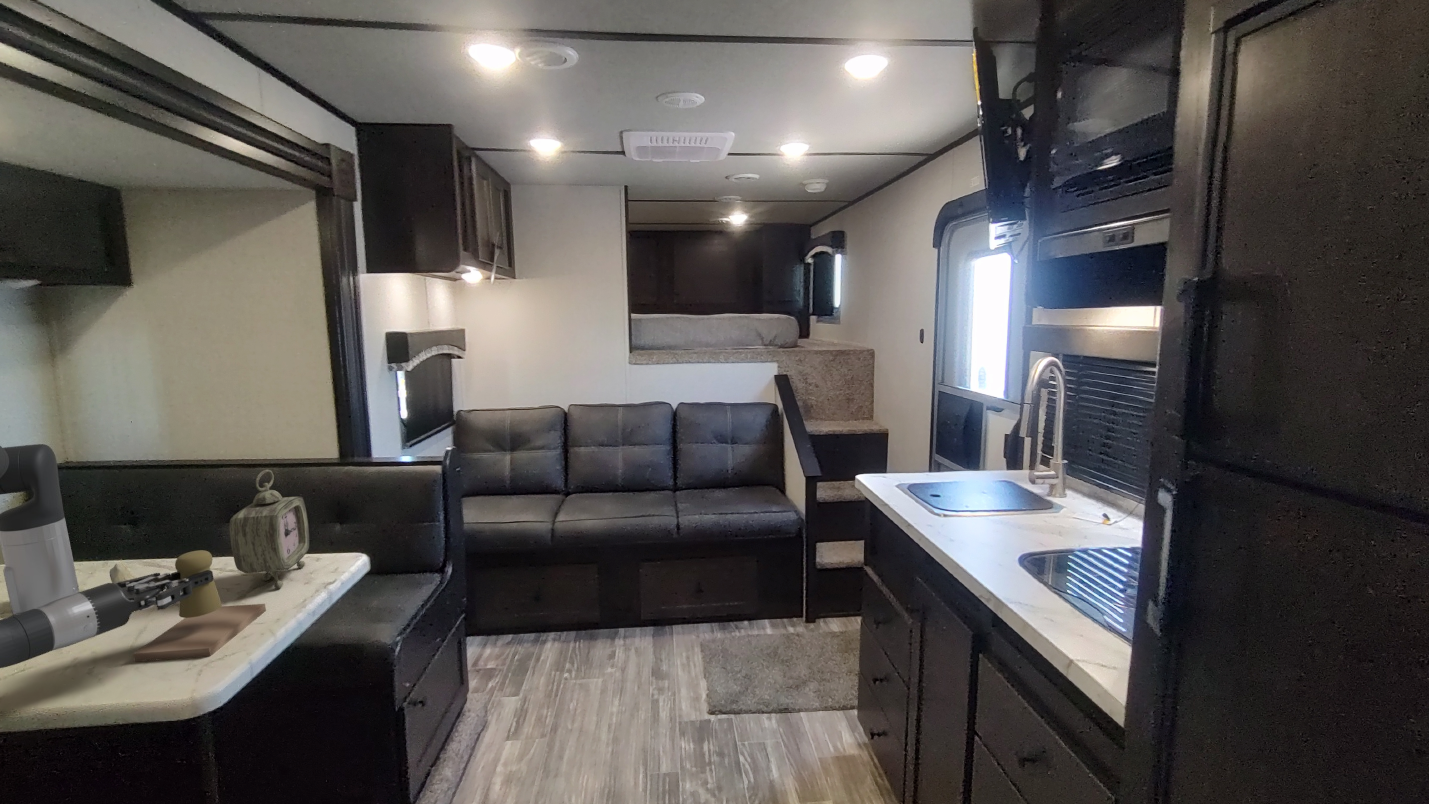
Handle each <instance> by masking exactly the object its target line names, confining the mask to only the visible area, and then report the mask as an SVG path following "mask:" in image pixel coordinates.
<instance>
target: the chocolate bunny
mask: <svg viewBox="0 0 1429 804" xmlns="http://www.w3.org/2000/svg"><path fill="white" fill-rule="evenodd" d="M109 578H110V581H111V583H114V584H116V583H118V582H122V581H126V580H130V579H134V578H138V577H137V576H135V575H133V574H132V573H131V571H130V570H129V569H128V568H127V566H126V565H125V564H124V563H121V562H116V563H115V564H114V566H113V567H112V568H110V569H109Z"/></svg>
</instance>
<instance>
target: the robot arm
mask: <svg viewBox="0 0 1429 804" xmlns="http://www.w3.org/2000/svg"><path fill="white" fill-rule="evenodd" d="M31 491H33V497H32V498H31V499H30V500H28V501H26V502H24V503H23V504H20V505H17V506H14V507H11V508H9V509H7V510H5V511H2V512H1V513H0V547H1V552H2V556H3V557H2V558H3V560H4V561H3V562H4V568H3V570H2V571H3V576H4V582H5V586H6V591H7V596H8V600H9V604H10V609H11V614H12V615H10V616H7V617H5V618H1V619H0V669H4V668H8V667H12V666H15V665H18V664H21V663H24V662H26V661H29V660H31V659H35V658H37V657H39V656H42V655H45V654H47V653H48V654H49V652H52V651H56V650H59V649H63V648H67V647H71V646H72V645H73V646H74V645H76V644H78V643H80V642H83V641H86V640H89V639H91V638H95V637H97V636H99V635H102V634H105V633H108V632H111V631H112V630H115V629H117V628H121V627H123V626H125V625H126V624H128V622H129V620H130V618H131V615H132V614H133V613H135V612H138V611H144V610H148V609H151V608H153V607H154V606H156V610H157V611H163V610H165V609H167V608H169V607H172V606H173V605H175V604H177V603H180V601H181V600H183V599H185V598H187V597H189V596H191V595H192V589H193V588H196V587H199V586H202V585H204V584H207V583H210V582H212V581H213V579H214V573H213V571H212V570H211V569H210V570H211V571H210V570H206V571H203V572H200V573H197V574H195V575H192V576H189V577H186V578H182V579H180V578H181V573H179V572H178V571H177V570H176V571H174V572H172V573H170V572H165V573H162V574H161V572H155V573H151V574H147V575H143V576H140V577H137V578H134V579H130V580H126V581H122V582H118V583H116V584H114V583H112V582H107V583H103V584H100V585H97V586H94V587H91V588H88V589H86V590H82V591H80V588H79V583H78V577H77V574H76V568H75V562H74V558H73V552H72V549H71V548H72V547H71V543H70V538H69V533H68V528H67V523H66V518H65V512H64V507H63V499H62V498H63V497H62V493H61V488H60V478H59V468H58V462H57V458H56V454H55V452H54V450H53V449H52V448H51V446H49V445H47V444H44V443H38V444H37V443H36V444H26V445H18V446H16V445H15V446H6V447H3V446H2V445H0V495H9V494H17V493H24V492H31ZM180 589H181V590H180ZM134 611H135V612H134Z"/></svg>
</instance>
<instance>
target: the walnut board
mask: <svg viewBox="0 0 1429 804" xmlns="http://www.w3.org/2000/svg"><path fill="white" fill-rule="evenodd" d="M266 611H267V609H266V603H254V604H252V603H251V604H242V605H241V604H240V605H239V604H238V605H237V604H236V605H223V606H222V605H221V607H220V608H219V609H217V610H215V611H213V612H211V613H208V614H205V615H202V616H198V617H191V618H182V619H181V620H179V621H178V622H177V623H176V624H175V625H173V626H172V627H169V629H167V630H166V631H165V632H162V633H161V634H159V636H157V637H156V638H154V639H152V640H151V641H150V642H148V643H147V644H146V645H144V646H142V647H141V648H140V649H138V650H136V651H135V652H134V653H133V658H134V662H144V661H143V660H149V661H157V660H156V659H163V660H174V659H173V658H177V659H189V657H190V658H203V657H204V658H205V657H211V656H213V654H215V653H216V652H218V650H220V649H221V648H223V646H225V645H226V644H227V643H229V642H230V641H231V640H232V639H233V638H234V637H236V636H237V635H238V634H239V633H241V632H242V631H243V630H244V629H246V626H247V625H248V626H249V625H251V624H252V623H253V622H254V621H256V620H257V619H258V618H259V617H260V616H262V615H263V614H264V613H265V612H266ZM257 617H258V618H257ZM252 621H253V622H252ZM251 622H252V623H251ZM248 626H247V627H248Z"/></svg>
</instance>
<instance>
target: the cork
mask: <svg viewBox="0 0 1429 804" xmlns="http://www.w3.org/2000/svg"><path fill="white" fill-rule="evenodd" d="M213 560H214V559H213V556H212V553H211V552H210V551H207V550H201V549H200V550H199V549H198V550H193V551H189V552H186V553H183V554H181V555H179V556H178V557H177V558H176V560H175V564H174V566H175V570H176V572H177V571H178V572H179V573H181V578H180V579H182V578H186V577H189V576H192V575H195V574H197V573H200V572H203V571H206V570H210V571H212V570H211V566H212V564H213ZM180 590H181V589H180ZM221 606H222V601H221V598H220V595H219V592H218V589H217V585H216V582H215V579H214V578H213V581H212V582H210V583H207V584H204V585H202V586H199V587H196V588H193V589H192V595H191V596H189V597H187V598H185V599H183V600H181V601H179V614H178V616H179V617H180V618H182V619H184V618H191V617H198V616H202V615H205V614H208V613H211V612H213V611H215V610H217V609H219V608H220V607H221Z"/></svg>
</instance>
